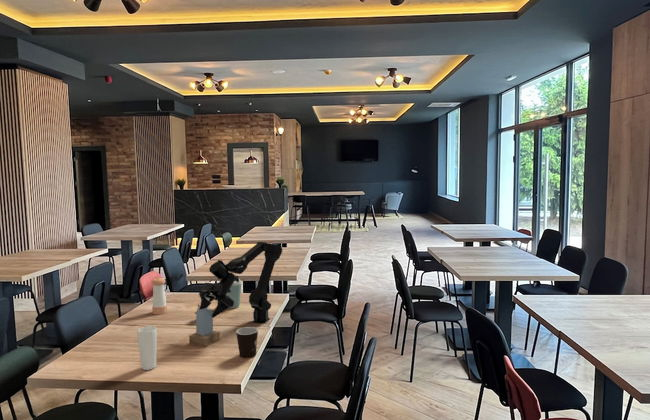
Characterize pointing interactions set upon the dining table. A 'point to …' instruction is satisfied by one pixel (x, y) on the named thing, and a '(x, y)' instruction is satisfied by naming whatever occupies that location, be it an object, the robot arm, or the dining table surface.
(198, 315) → the blue block
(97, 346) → the dining table surface
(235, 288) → the disposable coffee cup
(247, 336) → the coffee mug
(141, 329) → the drinking glass
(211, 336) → the walnut block
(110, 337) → the dining table surface
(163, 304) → the salt shaker
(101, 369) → the dining table surface
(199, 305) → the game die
